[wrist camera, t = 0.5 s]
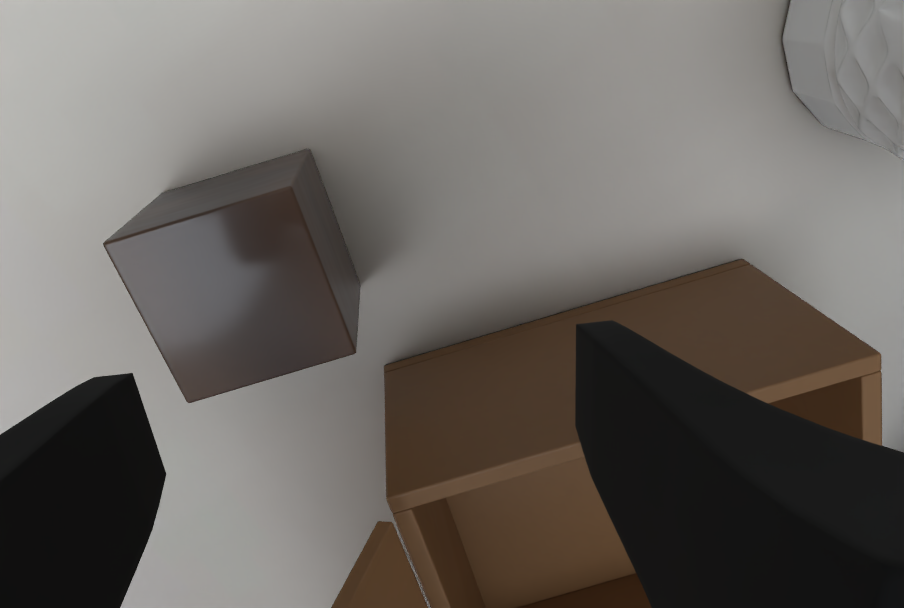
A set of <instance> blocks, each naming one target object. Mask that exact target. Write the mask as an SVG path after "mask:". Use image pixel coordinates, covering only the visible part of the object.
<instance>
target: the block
mask: <svg viewBox="0 0 904 608" xmlns="http://www.w3.org/2000/svg"><path fill="white" fill-rule="evenodd" d="M103 245H104V247H105V249H106V251H107V253H108V255H109V257H110V259H111V261H112V262H113V264H114V266H115V268H116V270H117V272H118V274H119V276H120V277H121V279H122V281H123V283H124V285H125V287H126V289H127V291H128V292H129V294H130V296H131V298H132V300H133V302H134V304H135V306H136V307H137V309H138V311H139V313H140V315H141V317H142V319H143V321H144V322H145V324H146V326H147V328H148V330H149V332H150V334H151V336H152V337H153V339H154V341H155V343H156V345H157V347H158V349H159V351H160V352H161V354H162V356H163V358H164V360H165V362H166V364H167V366H168V367H169V369H170V371H171V373H172V375H173V377H174V379H175V380H176V382H177V384H178V386H179V388H180V390H181V392H182V394H183V395H184V397H185V399H186V401H187V402H188V403H192V402H195V401H198V400H202V399H205V398H208V397H212V396H215V395H218V394H222V393H225V392H228V391H232V390H235V389H238V388H242V387H245V386H249V385H252V384H255V383H259V382H262V381H265V380H269V379H272V378H275V377H279V376H282V375H285V374H289V373H292V372H295V371H299V370H302V369H306V368H309V367H312V366H316V365H319V364H322V363H326V362H329V361H332V360H336V359H339V358H342V357H346V356H349V355H352V354H355V353H356V347H357V331H358V316H359V301H360V283H359V280H358V278H357V275H356V272H355V269H354V267H353V264H352V261H351V259H350V256H349V253H348V250H347V248H346V245H345V242H344V240H343V237H342V234H341V231H340V229H339V226H338V223H337V221H336V218H335V215H334V213H333V210H332V207H331V204H330V202H329V199H328V196H327V194H326V191H325V188H324V185H323V183H322V180H321V177H320V175H319V172H318V169H317V166H316V164H315V161H314V158H313V156H312V153H311V150H310V149H305V150H302V151H299V152H295V153H292V154H289V155H285V156H282V157H279V158H276V159H272V160H269V161H266V162H263V163H259V164H256V165H253V166H249V167H246V168H243V169H240V170H236V171H233V172H230V173H227V174H223V175H220V176H217V177H213V178H210V179H207V180H204V181H200V182H197V183H194V184H191V185H187V186H184V187H181V188H177V189H174V190H171V191H168V192H164V193H161V194H160V195H159V196H158V197H157V198H156V199H154V200H153V201H152V202H151V203H150V204H149V205H147V206H146V207H145V208H144V209H143V210H142V211H140V212H139V213H138V214H137V215H136V216H134V217H133V218H132V219H131V220H130V221H129V222H127V223H126V224H125V225H124V226H123V227H122V228H120V229H119V230H118V231H117V232H116V233H115V234H113V235H112V236H111V237H110V238H109V239H107V240H106V241H105V242H104V243H103Z"/></svg>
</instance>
